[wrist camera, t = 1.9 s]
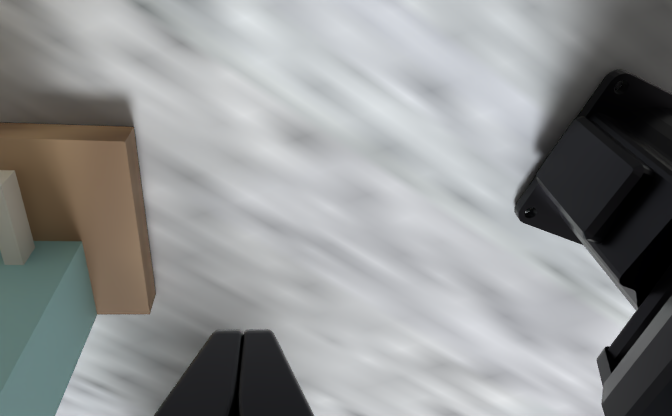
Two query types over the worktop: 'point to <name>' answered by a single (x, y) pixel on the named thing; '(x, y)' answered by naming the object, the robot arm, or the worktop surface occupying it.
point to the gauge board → (87, 203)
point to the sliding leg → (38, 310)
